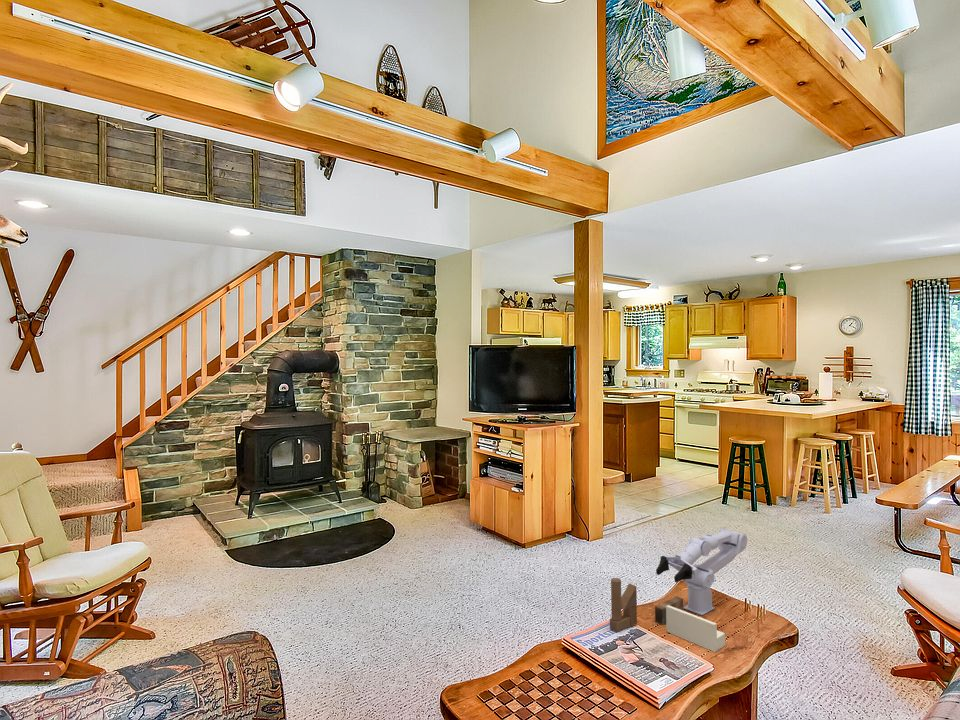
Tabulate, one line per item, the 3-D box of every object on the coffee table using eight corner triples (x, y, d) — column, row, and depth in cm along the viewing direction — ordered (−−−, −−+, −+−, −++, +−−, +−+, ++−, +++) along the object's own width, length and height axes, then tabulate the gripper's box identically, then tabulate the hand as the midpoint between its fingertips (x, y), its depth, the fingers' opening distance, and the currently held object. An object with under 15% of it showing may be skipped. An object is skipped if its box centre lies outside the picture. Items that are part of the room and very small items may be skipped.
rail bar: (676, 611, 206) (675, 596, 206) (683, 614, 203) (683, 598, 203) (655, 622, 197) (654, 606, 197) (662, 625, 194) (662, 609, 195)
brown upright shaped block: (637, 624, 195) (636, 575, 195) (616, 632, 189) (616, 582, 190) (629, 620, 198) (628, 572, 198) (609, 628, 192) (608, 579, 193)
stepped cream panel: (677, 625, 194) (676, 600, 194) (725, 645, 180) (724, 618, 180) (666, 631, 190) (666, 606, 190) (714, 652, 176) (714, 624, 176)
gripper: (668, 543, 208) (647, 560, 200) (702, 554, 197) (682, 573, 189) (670, 558, 209) (650, 576, 202) (705, 571, 198) (684, 590, 190)
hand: (666, 576), depth 195 cm, fingers open, 7 cm apart
